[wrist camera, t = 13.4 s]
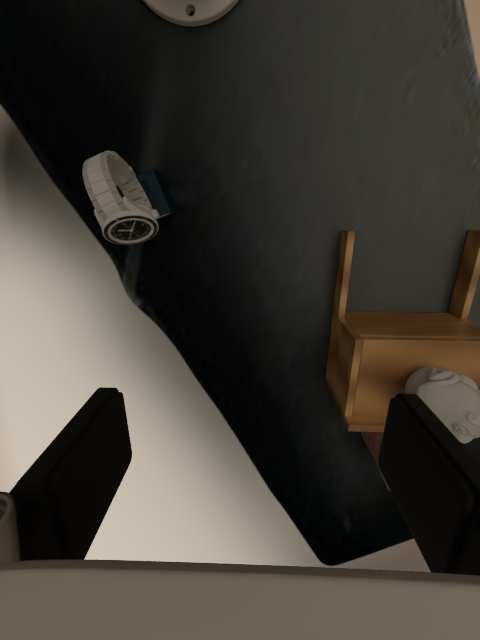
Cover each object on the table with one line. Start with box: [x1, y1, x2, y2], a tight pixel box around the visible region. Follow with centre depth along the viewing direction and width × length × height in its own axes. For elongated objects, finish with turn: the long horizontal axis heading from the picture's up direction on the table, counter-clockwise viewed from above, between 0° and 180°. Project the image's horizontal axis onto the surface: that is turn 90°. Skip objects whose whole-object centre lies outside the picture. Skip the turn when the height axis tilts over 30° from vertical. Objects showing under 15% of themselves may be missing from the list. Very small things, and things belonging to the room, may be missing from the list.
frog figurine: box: [405, 366, 480, 443], centre depth 28 cm, size 6×7×7 cm
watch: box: [82, 150, 177, 245], centre depth 30 cm, size 6×8×11 cm
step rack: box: [325, 230, 480, 432], centre depth 33 cm, size 20×15×10 cm
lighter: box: [361, 432, 390, 491], centre depth 40 cm, size 8×3×10 cm, turn 18°
